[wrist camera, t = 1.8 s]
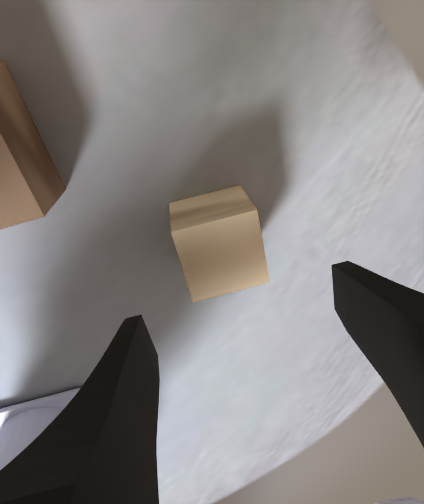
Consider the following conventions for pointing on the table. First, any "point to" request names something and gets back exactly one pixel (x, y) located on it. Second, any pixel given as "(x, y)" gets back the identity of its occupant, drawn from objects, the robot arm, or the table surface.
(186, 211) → the beech cube
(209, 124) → the table surface
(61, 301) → the table surface
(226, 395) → the table surface
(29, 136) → the tan wooden block
